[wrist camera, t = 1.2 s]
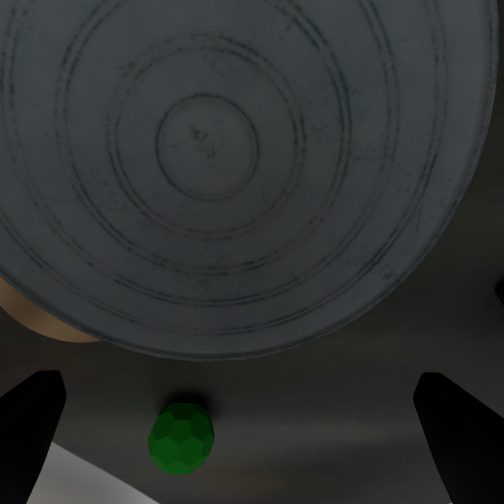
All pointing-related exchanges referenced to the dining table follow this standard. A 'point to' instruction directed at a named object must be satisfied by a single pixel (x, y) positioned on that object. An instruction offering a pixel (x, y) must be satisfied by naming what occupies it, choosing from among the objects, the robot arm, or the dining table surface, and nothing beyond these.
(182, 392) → the dining table surface
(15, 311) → the coaster
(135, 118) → the canned food
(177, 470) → the polyhedron
